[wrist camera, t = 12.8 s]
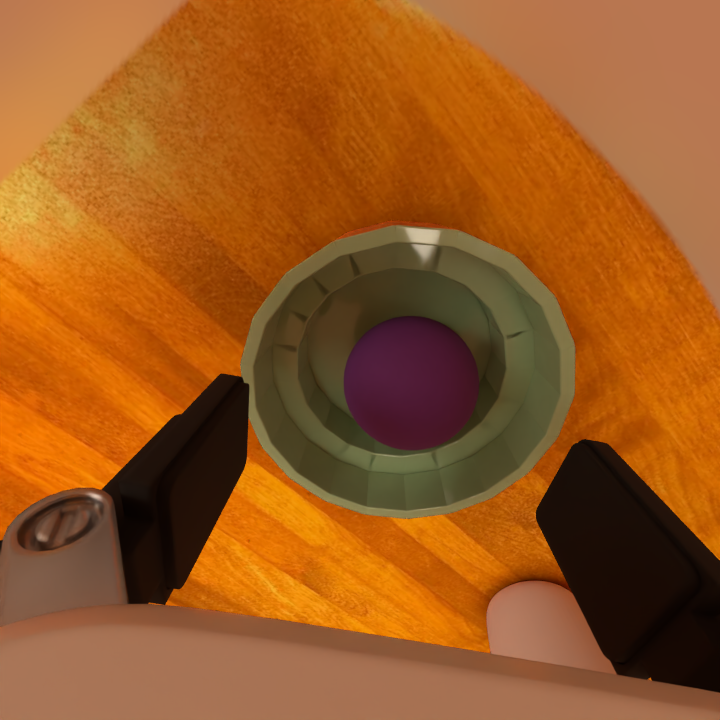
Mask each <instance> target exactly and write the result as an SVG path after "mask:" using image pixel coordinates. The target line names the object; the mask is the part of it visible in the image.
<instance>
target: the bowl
mask: <svg viewBox="0 0 720 720" xmlns="http://www.w3.org/2000/svg"><path fill="white" fill-rule="evenodd" d="M401 316H421V317H426V318H430V319H432V320H435V321H438V322H440V323H442V324H444V325H446V326H448V327H449V328H450V329H452V330H453V331H454V332H456V333H457V334H458V335H459V336H460V337H461V338H462V339H463V341H464V342H465V343H466V345H467V346H468V347H469V349H470V351H471V353H472V355H473V357H474V359H475V362H476V365H477V368H478V374H479V394H478V400H477V403H476V406H475V409H474V411H473V413H472V415H471V417H470V419H469V420H468V422H467V423H466V424H465V426H464V427H463V428H462V429H461V430H460V431H459V432H458V433H457V434H456V435H455V436H453V437H452V438H451V439H449V440H448V441H446V442H444V443H442V444H440V445H438V446H435V447H432V448H429V449H424V450H400V449H396V448H392V447H389V446H387V445H384V444H382V443H380V442H378V441H376V440H375V439H374V438H372V437H371V436H369V435H368V434H367V433H366V432H365V431H364V430H363V429H362V428H361V427H360V426H359V425H358V423H357V422H356V421H355V419H354V418H353V416H352V414H351V412H350V410H349V408H348V405H347V402H346V399H345V394H344V371H345V367H346V363H347V360H348V357H349V355H350V353H351V351H352V349H353V347H354V346H355V345H356V343H357V342H358V341H359V339H360V338H361V337H362V336H363V335H364V334H365V333H366V332H367V331H369V330H370V329H371V328H373V327H374V326H376V325H377V324H379V323H381V322H384V321H386V320H389V319H392V318H396V317H401ZM240 366H241V377H242V378H243V380H244V383H248V384H249V388H250V389H249V414H248V418H249V420H250V422H251V424H252V427H253V429H254V431H255V433H256V435H257V438H258V440H259V442H260V444H261V446H262V448H263V449H264V450H265V451H266V452H267V453H268V455H269V456H270V457H271V458H272V459H273V460H274V461H275V463H276V464H277V465H278V466H279V467H280V468H281V469H282V470H283V472H284V473H285V474H286V475H287V476H288V477H290V479H292V480H293V481H295V482H296V483H298V484H299V485H301V486H302V487H304V488H305V489H307V490H308V491H310V492H312V493H313V494H315V495H316V496H318V497H319V498H321V499H322V500H325V501H326V502H329V503H332V504H335V505H338V506H341V507H344V508H347V509H350V510H352V511H355V512H358V513H361V514H364V513H365V515H374V516H383V517H393V518H403V519H406V518H407V519H410V518H418V517H427V516H435V515H443V514H449V513H453V512H456V511H459V510H461V509H464V508H467V507H470V506H472V505H475V504H478V503H480V502H483V501H486V500H489V499H491V498H493V497H494V496H496V495H497V494H499V493H500V492H502V491H503V490H505V489H506V488H507V487H509V486H510V485H512V484H513V483H515V482H516V481H518V480H519V479H521V478H522V477H524V476H525V475H526V474H528V472H530V471H531V470H532V468H533V467H534V466H535V465H536V464H537V462H538V461H539V460H540V459H541V458H542V456H543V455H544V454H545V453H546V451H547V450H548V449H549V448H550V447H551V445H552V444H553V443H554V442H555V441H556V439H557V437H558V436H559V434H560V431H561V429H562V426H563V424H564V421H565V419H566V416H567V413H568V411H569V408H570V406H571V403H572V401H573V398H574V394H575V343H574V341H573V338H572V336H571V333H570V331H569V328H568V326H567V323H566V321H565V318H564V316H563V313H562V311H561V308H560V306H559V303H558V301H557V298H556V297H555V295H554V294H553V293H552V292H551V291H550V290H549V289H548V288H547V287H546V286H545V285H544V284H543V283H542V282H541V281H540V280H539V279H538V278H537V277H536V276H535V275H534V274H533V273H532V272H531V271H530V270H529V269H528V267H527V266H526V265H525V264H524V263H523V262H522V261H521V260H520V259H519V258H518V257H516V256H515V255H514V254H512V253H509V252H507V251H505V250H503V249H501V248H498V247H496V246H494V245H492V244H489V243H487V242H485V241H483V240H481V239H478V238H476V237H474V236H472V235H470V234H467V233H465V232H463V231H461V230H457V229H454V228H450V227H446V226H443V225H439V224H436V223H423V222H411V221H398V220H392V221H386V222H382V223H378V224H374V225H371V226H367V227H363V228H359V229H355V230H352V231H349V232H346V233H345V234H343V235H341V236H340V237H338V238H337V239H335V240H334V241H332V242H331V243H329V244H328V245H326V246H325V247H323V248H322V249H320V250H319V251H317V252H316V253H314V254H313V255H311V256H310V257H309V258H307V259H306V260H304V261H303V262H301V263H300V264H298V265H297V266H295V267H294V268H292V269H291V270H289V271H288V272H286V274H284V275H283V276H282V278H281V279H280V281H279V282H278V283H277V285H276V286H275V287H274V289H273V290H272V292H271V293H270V294H269V296H268V297H267V298H266V300H265V301H264V303H263V304H262V305H261V307H260V308H259V309H258V311H257V312H256V313H255V315H254V317H253V319H252V322H251V326H250V330H249V333H248V337H247V341H246V344H245V348H244V351H243V355H242V359H241V364H240Z"/></svg>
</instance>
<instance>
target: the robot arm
mask: <svg viewBox="0 0 720 720" xmlns="http://www.w3.org/2000/svg"><path fill="white" fill-rule="evenodd" d="M249 389H250V388H249V384H248V383H244V380H243V378H242V377H239V376H234V375H228V374H220V375H219V376H218V377H217V378H216V379H215V380H214V381H213V382H212V383H211V384H210V385H209V386H208V387H207V388H206V389H205V390H204V391H203V392H202V393H201V395H200V396H199V397H198V398H197V399H196V400H195V401H194V402H193V403H192V404H191V405H190V406H189V407H188V408H187V409H186V410H185V411H184V412H183V413H182V414H179V415H175V416H174V417H173V418H171V419H170V420H169V421H168V422H167V424H166V425H165V426H164V427H163V428H162V429H161V430H160V431H159V432H158V433H157V434H156V435H155V436H154V437H153V438H152V439H151V440H150V441H149V442H148V443H147V444H146V445H145V446H144V447H143V448H142V449H141V450H140V451H139V452H138V453H137V454H136V455H135V456H134V457H133V458H132V459H131V460H130V461H129V462H128V463H127V464H126V465H125V466H124V467H123V468H122V469H121V470H120V471H119V472H118V473H117V474H116V475H115V476H114V478H113V479H112V480H111V481H110V482H109V483H108V484H107V485H106V486H105V487H104V488H103V489H102V490H99V489H95V488H75V489H70V490H65V491H61V492H59V493H56V494H53V495H50V496H48V497H45V498H44V499H42V500H40V501H38V502H36V503H34V504H33V505H31V506H30V507H28V508H27V509H26V510H24V511H23V512H22V513H21V514H19V515H18V516H17V517H16V518H15V519H14V521H13V522H12V523H11V524H10V525H9V527H8V528H7V530H6V533H5V535H4V538H3V540H1V541H0V720H720V561H719V560H718V559H717V557H716V556H715V555H714V554H713V553H712V552H711V551H710V550H709V549H708V548H707V547H706V546H705V545H704V544H703V543H702V542H701V541H700V540H699V539H698V538H697V537H696V535H695V534H694V533H693V532H692V531H691V530H690V529H689V528H688V527H687V526H686V525H685V524H684V523H683V522H682V521H681V520H680V519H679V518H678V517H677V516H676V515H675V513H674V512H673V511H672V510H671V509H670V508H669V507H668V506H667V505H666V504H665V503H664V502H663V501H662V500H661V499H660V498H659V497H658V496H657V495H656V494H655V493H654V491H653V490H652V489H651V488H650V487H649V486H648V485H647V484H646V483H645V482H644V481H643V480H642V479H641V478H640V477H639V476H638V475H637V474H636V473H635V472H634V471H633V469H632V468H631V467H630V466H629V465H628V464H627V463H626V462H625V461H624V460H623V459H622V458H621V457H620V456H619V455H618V454H617V453H616V452H615V451H614V450H613V449H612V447H611V446H609V445H608V444H607V443H603V442H598V441H592V440H586V439H584V440H581V441H579V442H578V443H575V444H574V445H573V446H572V447H571V449H570V451H569V453H568V454H567V456H566V458H565V460H564V461H563V463H562V465H561V467H560V468H559V470H558V472H557V474H556V476H555V477H554V479H553V481H552V483H551V484H550V486H549V488H548V490H547V492H546V493H545V495H544V497H543V499H542V500H541V502H540V504H539V506H538V507H537V510H536V519H537V522H538V524H539V527H540V529H541V531H542V533H543V535H544V537H545V539H546V541H547V543H548V545H549V547H550V549H551V551H552V553H553V555H554V557H555V559H556V561H557V563H558V565H559V567H560V569H561V571H562V573H563V575H564V577H565V579H566V581H567V583H568V585H569V587H570V589H571V591H572V593H573V595H574V597H575V599H576V601H577V603H578V605H579V607H580V609H581V611H582V613H583V615H584V617H585V619H586V621H587V623H588V625H589V627H590V629H591V631H592V634H593V636H594V638H595V640H596V642H597V644H598V646H599V648H600V650H601V651H602V653H603V655H604V656H605V657H606V658H607V659H608V660H610V662H611V664H612V666H613V668H614V670H615V672H616V674H617V675H616V674H610V673H604V672H598V671H592V670H586V669H580V668H575V667H569V666H563V665H557V664H551V663H544V662H538V661H532V660H526V659H520V658H514V657H508V656H502V655H496V654H490V653H484V652H478V651H472V650H466V649H460V648H453V647H447V646H441V645H435V644H429V643H423V642H417V641H411V640H404V639H398V638H392V637H385V636H379V635H373V634H367V633H360V632H354V631H348V630H341V629H335V628H329V627H322V626H316V625H310V624H304V623H297V622H291V621H285V620H278V619H271V618H263V617H256V616H249V615H242V614H235V613H227V612H220V611H213V610H206V609H199V608H190V607H178V606H166V605H165V604H166V602H167V600H168V598H169V596H170V594H171V593H172V591H173V589H181V588H182V586H183V585H184V583H185V582H186V580H187V578H188V576H189V574H190V572H191V570H192V568H193V566H194V564H195V563H196V561H197V559H198V557H199V555H200V553H201V551H202V549H203V547H204V545H205V543H206V541H207V539H208V537H209V536H210V534H211V532H212V530H213V528H214V526H215V524H216V522H217V520H218V518H219V516H220V514H221V512H222V510H223V509H224V507H225V505H226V503H227V501H228V499H229V497H230V495H231V493H232V491H233V489H234V487H235V485H236V483H237V481H238V480H239V478H240V476H241V474H242V472H243V470H244V467H245V464H246V459H247V439H248V414H249ZM149 602H150V603H156V604H162V605H154V604H148V603H149ZM650 677H651V679H652V681H651V680H648V679H649V678H650Z"/></svg>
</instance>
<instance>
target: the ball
mask: <svg viewBox="0 0 720 720" xmlns="http://www.w3.org/2000/svg"><path fill="white" fill-rule="evenodd" d="M344 394H345V399H346V402H347V405H348V408H349V410H350V412H351V414H352V416H353V418H354V419H355V421H356V422H357V423H358V425H359V426H360V427H361V428H362V429H363V430H364V431H365V432H366V433H367V434H368V435H369V436H371V437H372V438H374V439H375V440H376V441H378V442H380V443H382V444H384V445H387V446H389V447H392V448H396V449H400V450H424V449H429V448H432V447H435V446H438V445H440V444H442V443H444V442H446V441H448V440H449V439H451V438H452V437H453V436H455V435H456V434H457V433H458V432H459V431H460V430H461V429H462V428H463V427H464V426H465V424H466V423H467V422H468V420H469V419H470V417H471V415H472V413H473V411H474V409H475V406H476V403H477V400H478V394H479V374H478V368H477V365H476V362H475V359H474V357H473V355H472V353H471V351H470V349H469V347H468V346H467V345H466V343H465V342H464V341H463V339H462V338H461V337H460V336H459V335H458V334H457V333H456V332H454V331H453V330H452V329H450V328H449V327H448V326H446V325H444V324H442V323H440V322H438V321H435V320H432V319H430V318H426V317H421V316H401V317H396V318H392V319H389V320H386V321H384V322H381V323H379V324H377V325H376V326H374V327H373V328H371V329H370V330H369V331H367V332H366V333H365V334H364V335H363V336H362V337H361V338H360V339H359V341H358V342H357V343H356V345H355V346H354V347H353V349H352V351H351V353H350V355H349V357H348V360H347V363H346V367H345V371H344Z"/></svg>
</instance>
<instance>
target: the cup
mask: <svg viewBox="0 0 720 720" xmlns="http://www.w3.org/2000/svg"><path fill="white" fill-rule="evenodd" d="M487 631H488V638H489V644H490V651H491V654H496V655H502V656H508V657H514V658H520V659H526V660H532V661H538V662H544V663H551V664H557V665H563V666H569V667H575V668H580V669H586V670H592V671H598V672H604V673H610V674H616V672H615V670H614V668H613V666H612V664H611V662H610V660H608V659H607V658H606V657H605V656H604V655H603V653H602V651H601V650H600V648H599V646H598V644H597V642H596V640H595V638H594V636H593V634H592V631H591V629H590V627H589V625H588V623H587V621H586V619H585V617H584V615H583V613H582V611H581V609H580V607H579V605H578V603H577V601H576V599H575V597H574V595H573V594H572V593H571V592H570V591H568V590H567V589H565V588H564V587H562V586H560V585H557V584H554V583H551V582H546V581H524V582H518V583H515V584H512V585H509V586H507V587H505V588H503V589H502V590H500V591H499V592H498V593H497V594H496V595H495V596H494V597H493V598H492V600H491V601H490V603H489V606H488V609H487ZM616 675H617V674H616Z"/></svg>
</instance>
